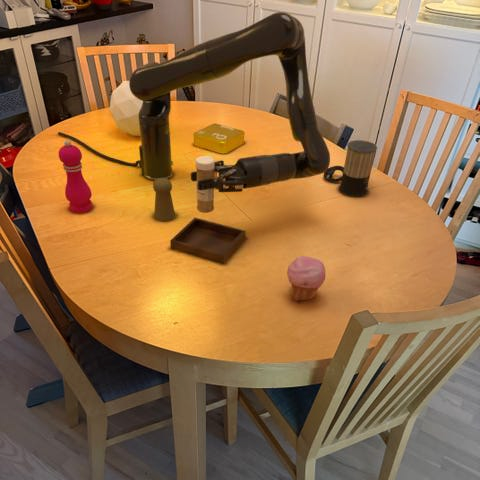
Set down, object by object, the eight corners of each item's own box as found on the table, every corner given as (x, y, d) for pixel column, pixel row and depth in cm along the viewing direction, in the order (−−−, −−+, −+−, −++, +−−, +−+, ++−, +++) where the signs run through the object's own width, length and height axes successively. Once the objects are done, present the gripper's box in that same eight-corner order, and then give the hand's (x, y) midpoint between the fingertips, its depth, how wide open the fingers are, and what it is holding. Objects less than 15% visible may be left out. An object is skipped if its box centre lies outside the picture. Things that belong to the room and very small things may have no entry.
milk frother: (364, 199, 148) (375, 153, 138) (316, 190, 152) (323, 144, 142) (371, 181, 158) (381, 137, 148) (325, 173, 162) (332, 129, 152)
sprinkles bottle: (193, 209, 121) (191, 159, 112) (205, 203, 124) (204, 153, 115) (206, 215, 119) (205, 164, 110) (218, 209, 122) (218, 159, 113)
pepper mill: (98, 204, 140) (86, 137, 126) (85, 215, 134) (70, 147, 121) (77, 200, 141) (63, 133, 128) (63, 211, 136) (47, 142, 123)
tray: (170, 248, 123) (170, 240, 122) (195, 225, 133) (194, 217, 131) (223, 264, 119) (224, 255, 117) (245, 238, 128) (245, 230, 127)
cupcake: (283, 283, 114) (288, 248, 107) (319, 285, 114) (325, 250, 107) (285, 306, 107) (290, 271, 101) (323, 308, 107) (330, 273, 101)
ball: (131, 147, 190) (120, 96, 188) (175, 133, 184) (165, 80, 181) (105, 137, 172) (93, 81, 170) (153, 122, 166) (141, 63, 164)
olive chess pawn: (171, 222, 133) (169, 186, 126) (151, 219, 134) (147, 183, 127) (177, 212, 138) (175, 176, 131) (158, 209, 139) (155, 174, 131)
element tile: (246, 142, 180) (246, 129, 177) (224, 155, 170) (224, 141, 167) (214, 133, 186) (214, 121, 183) (191, 145, 176) (191, 132, 173)
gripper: (246, 146, 123) (184, 155, 118) (270, 168, 113) (204, 179, 108) (245, 173, 128) (185, 183, 123) (268, 197, 118) (205, 208, 113)
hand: (195, 181), depth 115 cm, fingers closed on sprinkles bottle, 4 cm apart
